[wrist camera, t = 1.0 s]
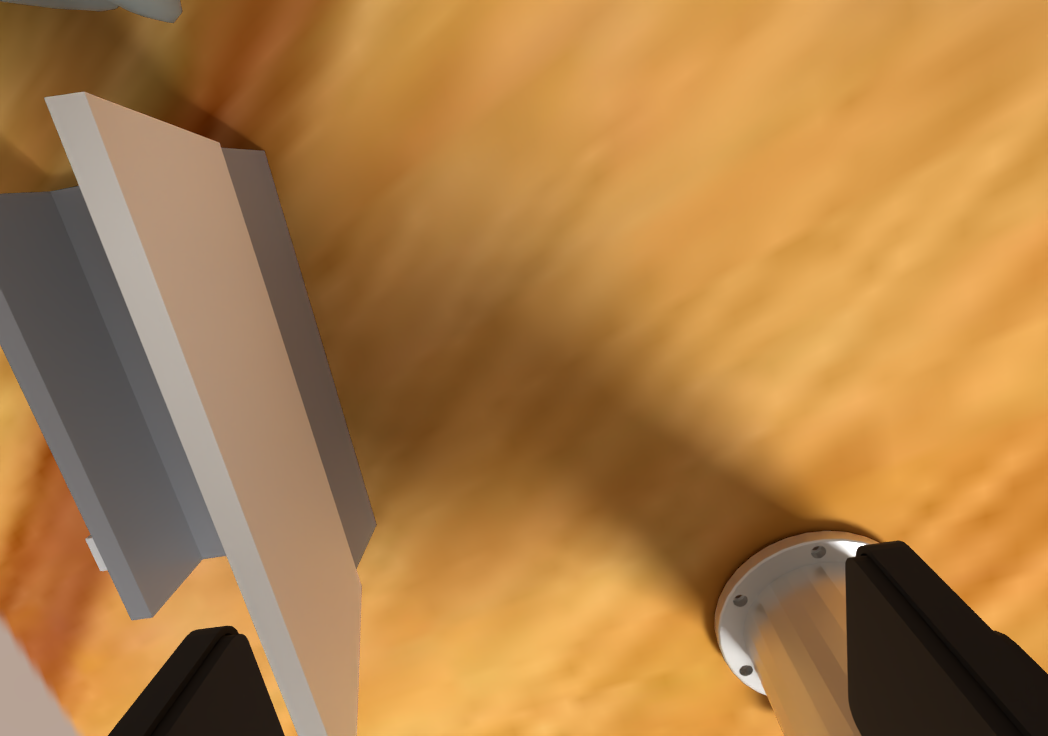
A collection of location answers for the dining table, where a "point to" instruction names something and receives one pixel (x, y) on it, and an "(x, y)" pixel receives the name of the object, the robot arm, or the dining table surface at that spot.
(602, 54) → the dining table surface
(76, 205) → the cable duct
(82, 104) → the plate
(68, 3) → the pencil case
